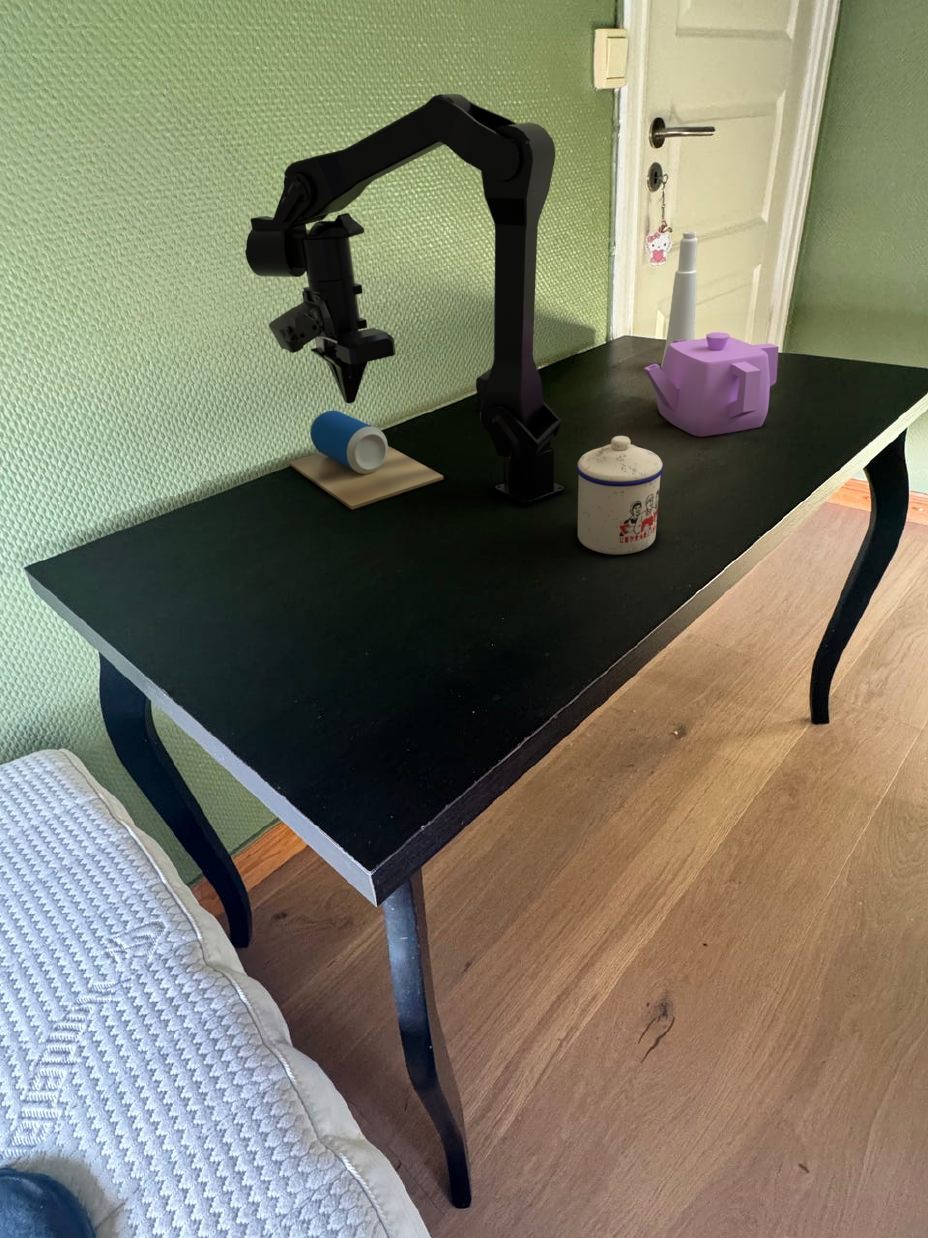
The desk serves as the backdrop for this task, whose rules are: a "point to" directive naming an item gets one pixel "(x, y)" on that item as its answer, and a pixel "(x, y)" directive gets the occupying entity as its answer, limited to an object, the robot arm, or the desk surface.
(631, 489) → the teacup with lid
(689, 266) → the cosmetic bottle
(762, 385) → the teakettle
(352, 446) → the beverage can
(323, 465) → the board
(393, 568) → the desk surface
